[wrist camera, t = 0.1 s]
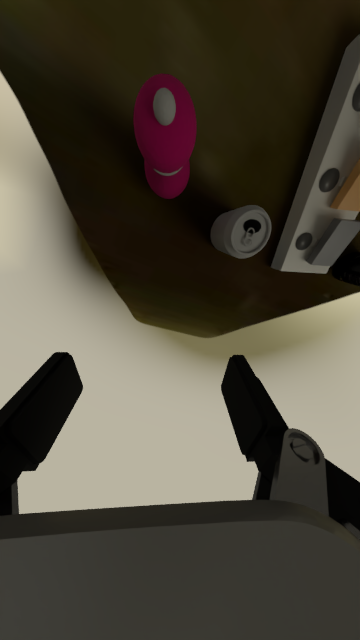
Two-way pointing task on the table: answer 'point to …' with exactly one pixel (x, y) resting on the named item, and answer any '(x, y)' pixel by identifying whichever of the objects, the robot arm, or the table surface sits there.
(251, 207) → the can
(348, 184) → the rocker
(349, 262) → the supplement bottle
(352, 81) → the power strip
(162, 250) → the table surface
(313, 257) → the block
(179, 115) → the pepper mill
